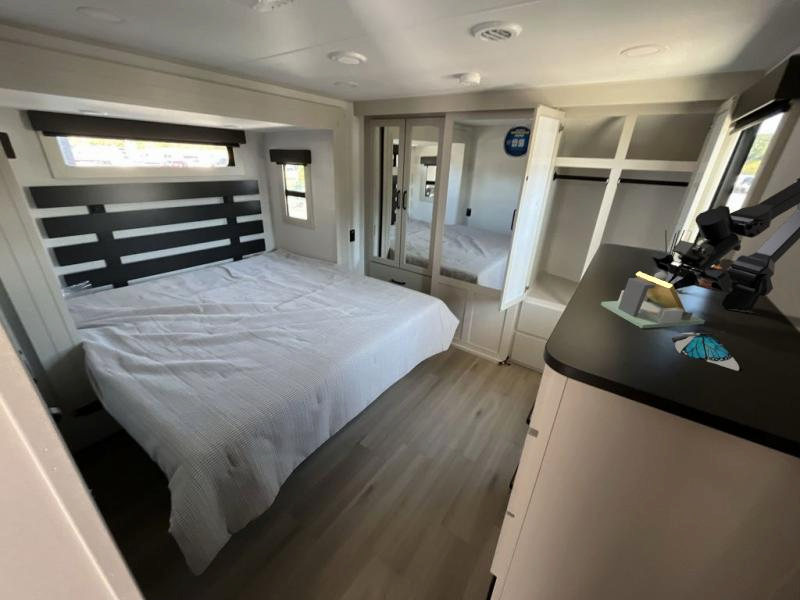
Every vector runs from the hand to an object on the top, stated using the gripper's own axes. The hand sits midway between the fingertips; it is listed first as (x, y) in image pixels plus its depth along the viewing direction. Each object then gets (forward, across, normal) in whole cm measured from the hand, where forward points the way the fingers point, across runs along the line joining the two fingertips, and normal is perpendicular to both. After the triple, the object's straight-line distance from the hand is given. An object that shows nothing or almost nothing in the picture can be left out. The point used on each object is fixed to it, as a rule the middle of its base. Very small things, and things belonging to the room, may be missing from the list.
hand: (661, 291), depth 87 cm
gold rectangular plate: (+1, 0, +6) cm, 6 cm away
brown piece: (-24, -18, +36) cm, 47 cm away
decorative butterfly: (+10, +18, 0) cm, 21 cm away
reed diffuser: (-9, -18, +20) cm, 28 cm away
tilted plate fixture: (+6, 0, +4) cm, 7 cm away
